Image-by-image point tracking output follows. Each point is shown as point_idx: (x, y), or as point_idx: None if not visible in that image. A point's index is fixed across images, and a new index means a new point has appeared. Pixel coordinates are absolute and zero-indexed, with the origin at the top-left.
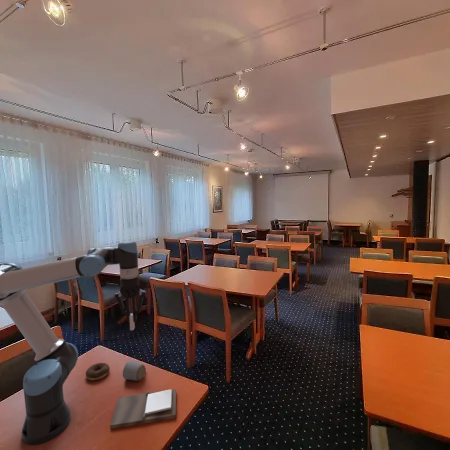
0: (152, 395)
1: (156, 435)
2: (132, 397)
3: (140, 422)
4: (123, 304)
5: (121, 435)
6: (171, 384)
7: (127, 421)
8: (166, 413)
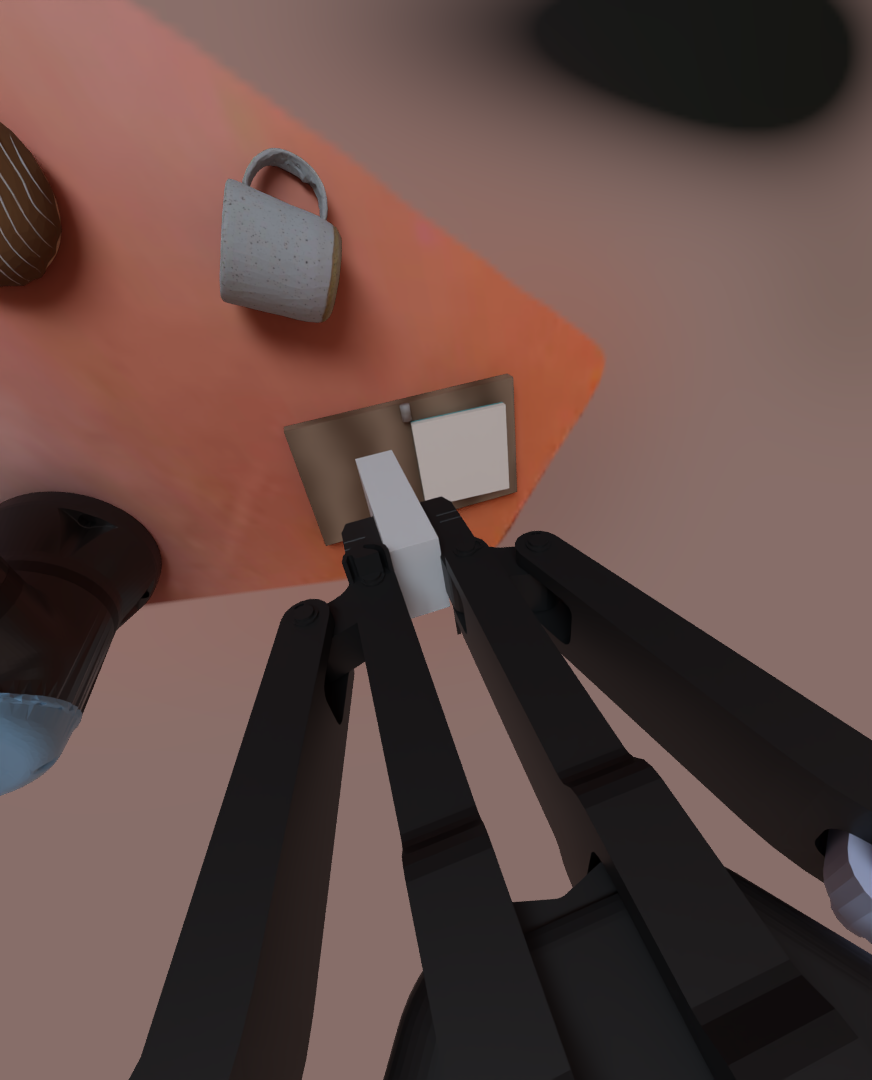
0: (433, 433)
1: None
2: (346, 430)
3: None
4: (312, 763)
5: None
6: (484, 321)
7: None
8: None
